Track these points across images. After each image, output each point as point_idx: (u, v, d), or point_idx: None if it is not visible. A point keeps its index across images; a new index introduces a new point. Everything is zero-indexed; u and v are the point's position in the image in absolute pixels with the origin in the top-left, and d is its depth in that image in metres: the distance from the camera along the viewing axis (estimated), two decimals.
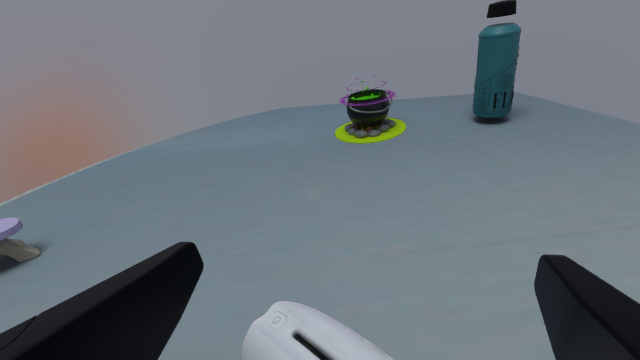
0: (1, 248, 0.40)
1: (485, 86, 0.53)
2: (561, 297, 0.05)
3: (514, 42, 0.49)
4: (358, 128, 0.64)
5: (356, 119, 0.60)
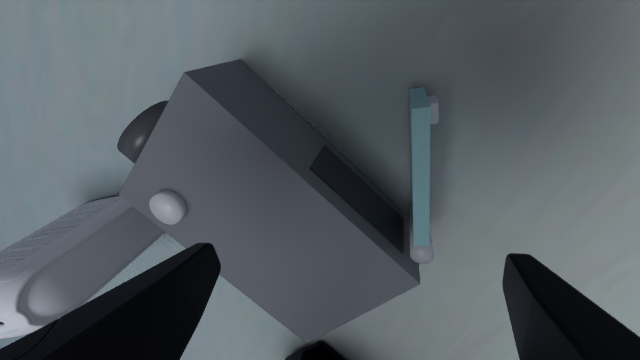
0: None
1: None
2: (522, 294, 0.06)
3: None
4: None
5: None
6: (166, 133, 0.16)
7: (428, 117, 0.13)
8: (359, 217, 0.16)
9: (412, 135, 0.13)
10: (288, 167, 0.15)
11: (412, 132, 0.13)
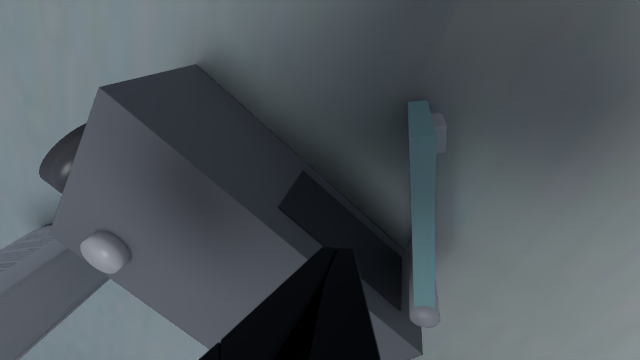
0: None
1: None
2: None
3: None
4: None
5: None
6: (90, 164, 0.12)
7: (433, 149, 0.09)
8: None
9: (411, 172, 0.10)
10: (246, 211, 0.11)
11: (411, 168, 0.10)
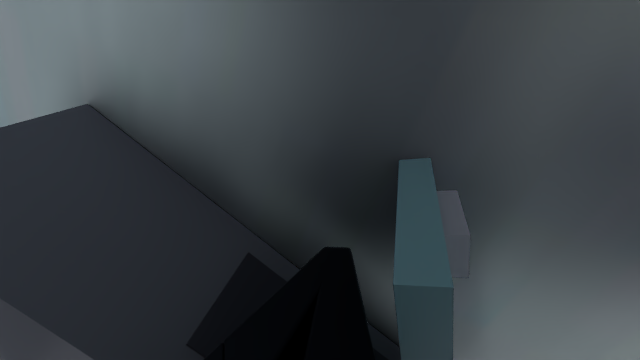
0: None
1: None
2: None
3: None
4: None
5: None
6: None
7: (447, 310, 0.04)
8: None
9: (401, 340, 0.05)
10: None
11: (401, 334, 0.05)
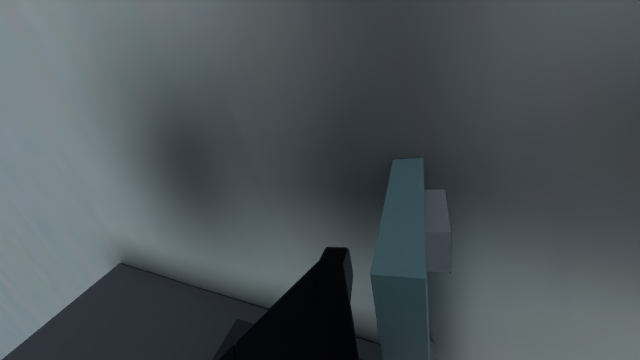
0: None
1: None
2: None
3: None
4: None
5: None
6: None
7: (420, 300, 0.05)
8: None
9: (380, 328, 0.05)
10: None
11: (379, 322, 0.05)
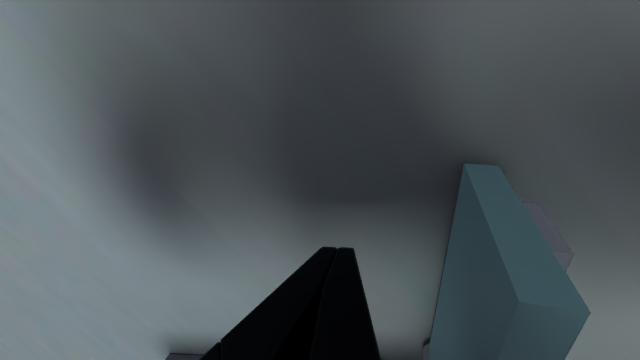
0: None
1: None
2: None
3: None
4: None
5: None
6: None
7: (570, 333, 0.04)
8: None
9: (501, 358, 0.05)
10: None
11: (504, 352, 0.04)
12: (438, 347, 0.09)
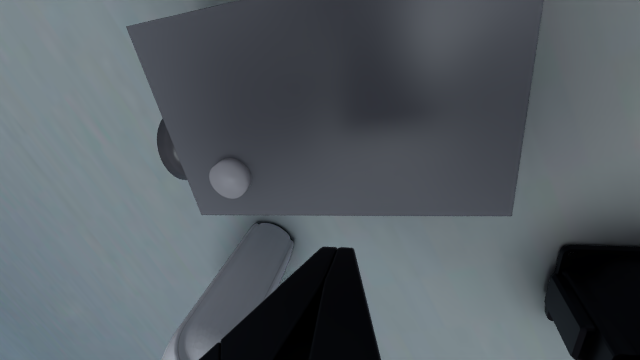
0: None
1: None
2: None
3: None
4: None
5: None
6: (168, 104, 0.15)
7: None
8: None
9: None
10: None
11: None
12: None
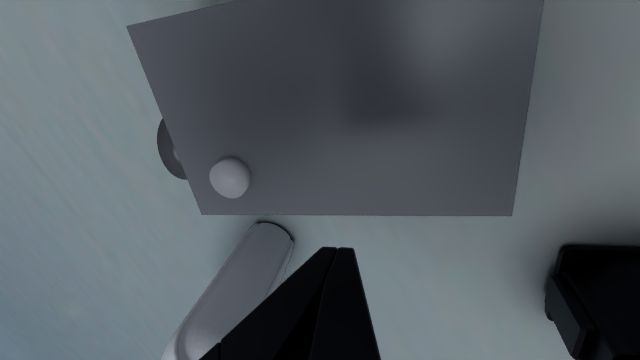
0: None
1: None
2: None
3: None
4: None
5: None
6: (169, 104, 0.15)
7: None
8: None
9: None
10: None
11: None
12: None
